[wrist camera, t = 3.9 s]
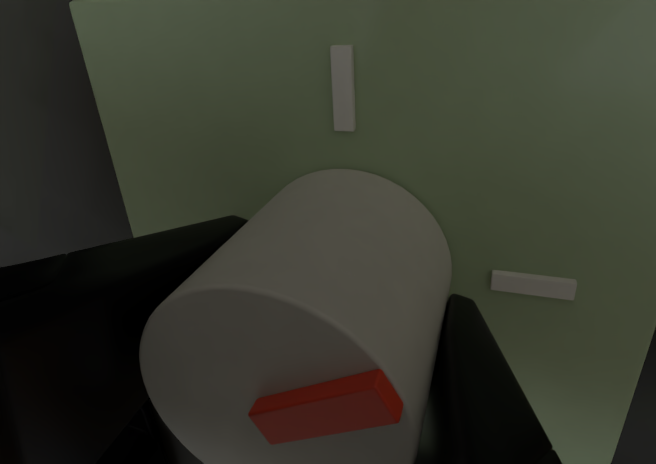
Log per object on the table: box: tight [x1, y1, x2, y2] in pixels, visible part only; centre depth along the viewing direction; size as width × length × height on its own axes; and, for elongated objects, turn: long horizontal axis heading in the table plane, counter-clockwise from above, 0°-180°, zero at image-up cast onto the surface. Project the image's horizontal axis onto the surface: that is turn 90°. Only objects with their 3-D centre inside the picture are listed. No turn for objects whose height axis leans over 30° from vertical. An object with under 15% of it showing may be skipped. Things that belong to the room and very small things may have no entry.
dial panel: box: [69, 0, 656, 464], centre depth 11 cm, size 11×10×3 cm
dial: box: [139, 169, 452, 464], centre depth 8 cm, size 4×4×4 cm
